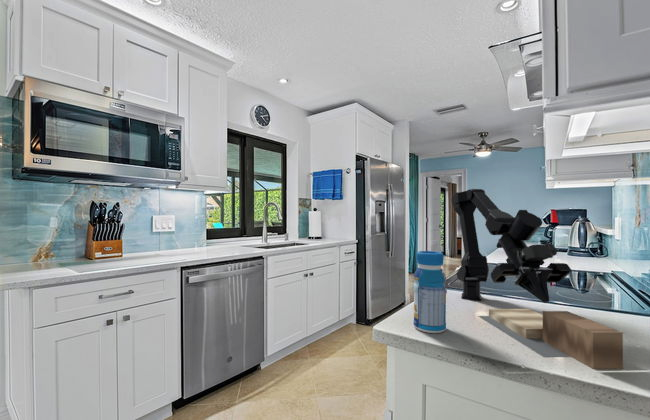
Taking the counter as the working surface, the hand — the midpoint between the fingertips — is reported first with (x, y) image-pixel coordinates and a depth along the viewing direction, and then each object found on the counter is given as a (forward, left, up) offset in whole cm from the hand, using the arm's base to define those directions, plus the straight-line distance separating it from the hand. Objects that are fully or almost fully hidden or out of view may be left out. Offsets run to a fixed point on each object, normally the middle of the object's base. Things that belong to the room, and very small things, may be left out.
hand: (546, 302), depth 75 cm
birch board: (-6, -3, -8) cm, 11 cm away
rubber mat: (-1, -2, -9) cm, 9 cm away
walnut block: (+2, +1, -5) cm, 6 cm away
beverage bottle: (+7, -27, -9) cm, 29 cm away
